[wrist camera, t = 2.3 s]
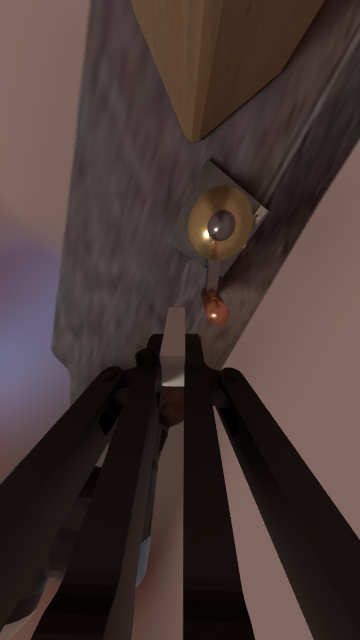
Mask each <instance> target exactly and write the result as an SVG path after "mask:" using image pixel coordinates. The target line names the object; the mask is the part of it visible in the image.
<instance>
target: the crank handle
mask: <svg viewBox="0 0 360 640" xmlns="http://www.w3.org/2000/svg"><path fill="white" fill-rule="evenodd" d="M252 223H253V214H252V208H251V205H250V203H249V201H248V199H247V197H246V196H245V195H244V194H243V193H242V192H241V191H240V190H238V189H237V188H235V187H232V186H226V185H224V186H217V187H214V188H211V189H209V190H208V191H206V192H205V193H204V194H202V195H201V196H200V197H199V199H198V200H197V201H196V203H195V204H194V206H193V208H192V210H191V213H190V216H189V219H188V226H187V229H188V237H189V240H190V243H191V245H192V246H193V248H194V249H195V250H196V252H197V253H198V254H200V255H201V256H202V257H204V258H206V259H208V266H207V277H206V287H205V288H204V289H203V290H202V292H201V298H202V301H203V304H204V308H205V311H206V315H207V318H208V321H209V322H210V323H211V324H212V325H216V326H219V325H223V324H225V323H226V322H227V321H228V319H229V317H230V312H229V310H228V308H227V307H226V305H225V303H224V302H223V300H222V298H221V297H220V295H219V293H218V292H217V287H218V279H219V272H220V264H221V260H224V259H227V258H229V257H231V256H233V255H234V254H236V253H237V252H238V251H239V250H240V249H241V248H242V247H243V246H244V244H245V243H246V241H247V239H248V237H249V235H250V232H251V229H252Z"/></svg>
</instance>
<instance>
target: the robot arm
mask: <svg viewBox="0 0 360 640" xmlns="http://www.w3.org/2000/svg"><path fill="white" fill-rule="evenodd" d="M135 358H136V363H137V366H136V367H135V368H132V369H128V370H124V371H123V370H122V369H121V368H120V367H117V366H113V367H109V368H107V369H105V370H104V371H102V372H101V373H100V374H99V375H98V377H97V378H96V379H95V380H94V381H93V382H92V383H91V384H90V385H89V387H88V388H87V389H86V390H85V391H84V392H83V393H82V394H81V396H80V397H79V398H78V399H77V400H76V401H75V402H74V403H73V404H72V406H71V407H70V408H69V409H68V410H67V411H66V412H65V413H64V415H63V416H62V417H61V418H60V419H59V420H58V421H57V422H56V424H55V425H54V426H53V427H52V428H51V429H50V430H49V431H48V432H47V433H46V435H45V436H44V437H43V438H42V439H41V440H40V441H39V443H38V444H37V445H36V446H35V447H34V448H33V449H32V450H31V451H30V453H29V454H28V455H27V456H26V457H24V458H23V459H22V460H21V461H20V462H19V463H18V464H17V465H16V466H15V467H14V468H13V469H12V470H11V472H10V473H9V474H8V475H7V476H6V477H5V478H4V479H3V480H2V482H1V483H0V640H9V639H10V638H11V637H12V636H13V635H14V634H15V633H16V632H17V631H18V630H19V629H20V628H21V627H22V626H23V625H24V624H25V623H26V622H27V621H28V620H29V619H30V618H31V616H32V615H33V614H34V612H35V610H36V608H37V605H38V603H39V601H40V598H41V596H42V594H43V591H44V589H45V586H46V585H47V583H48V581H62V582H61V585H60V587H59V589H58V591H57V593H56V594H55V596H54V598H53V599H52V601H51V602H50V604H49V605H48V607H47V609H46V610H45V611H44V613H43V615H42V617H41V619H40V621H39V623H38V625H37V628H36V629H35V632H34V633H33V636H32V638H31V640H131V635H132V627H133V617H134V601H135V587H137V586H138V585H139V584H140V582H141V581H142V579H143V577H144V575H145V571H146V567H147V560H148V554H149V548H150V541H151V538H152V533H151V531H152V521H153V511H154V501H155V491H156V481H157V471H158V462H159V459H160V456H161V453H162V451H163V448H164V445H165V442H166V439H167V437H168V430H169V423H168V421H167V419H166V418H165V417H164V416H163V415H162V414H160V413H159V409H160V402H161V395H162V392H161V386H184V502H183V503H184V504H183V507H184V509H183V640H255V637H254V633H253V628H252V624H251V621H250V617H249V614H248V611H247V607H246V604H245V600H244V596H243V591H242V585H241V580H240V574H239V567H238V561H237V555H236V548H235V542H234V537H233V530H232V523H231V517H230V511H229V505H228V499H227V493H226V486H225V480H224V474H223V467H222V461H221V454H220V448H219V442H218V436H217V429H216V424H215V417H214V411H213V405H214V406H216V409H217V412H218V414H219V416H220V419H221V421H222V423H223V426H224V428H225V431H226V433H227V435H228V438H229V440H230V442H231V445H232V447H233V450H234V452H235V454H236V456H237V459H238V461H239V464H240V466H241V468H242V471H243V473H244V475H245V478H246V480H247V482H248V485H249V487H250V490H251V492H252V495H253V497H254V499H255V502H256V504H257V506H258V509H259V511H260V513H261V516H262V518H263V521H264V523H265V525H266V528H267V530H268V532H269V535H270V537H271V539H272V542H273V544H274V546H275V549H276V551H277V554H278V556H279V558H280V561H281V563H282V565H283V567H284V570H285V572H286V575H287V577H288V580H289V582H290V584H291V587H292V589H293V591H294V594H295V596H296V599H297V601H298V603H299V605H300V608H301V610H302V613H303V615H304V617H305V620H306V622H307V624H308V627H309V629H310V632H311V634H312V636H313V639H314V640H360V539H359V538H358V537H357V535H356V534H355V532H354V531H353V530H352V528H351V527H350V525H349V524H348V523H347V521H346V520H345V518H344V517H343V515H342V514H341V513H340V511H339V510H338V508H337V507H336V506H335V504H334V503H333V502H332V500H331V499H330V497H329V496H328V494H327V493H326V492H325V490H324V489H323V487H322V486H321V484H320V483H319V482H318V480H317V479H316V477H315V476H314V475H313V473H312V472H311V470H310V469H309V468H308V466H307V465H306V463H305V462H304V460H303V459H302V458H301V456H300V455H299V453H298V452H297V451H296V449H295V448H294V446H293V445H292V444H291V442H290V441H289V439H288V438H287V436H286V435H285V434H284V432H283V431H282V429H281V428H280V427H279V425H278V424H277V422H276V421H275V420H274V418H273V417H272V415H271V414H270V412H269V411H268V410H267V409H266V407H265V405H264V404H263V403H262V401H261V400H260V398H259V397H258V396H257V394H256V393H255V391H254V390H253V389H252V387H251V386H250V384H249V383H248V381H247V380H246V379H245V377H244V376H243V374H241V372H240V371H238V370H236V369H234V368H224V369H222V370H221V371H217V370H214V369H211V368H209V367H208V366H207V365H206V364H205V362H204V358H203V351H202V345H201V338H200V337H199V335H198V334H185V308H169V311H168V316H167V321H166V326H165V331H164V334H153V335H152V336H151V337H150V338H149V341H148V344H147V347H146V348H145V349H142V350H140V351H138V352H137V353H136V355H135ZM107 444H108V451H107V454H106V457H105V460H104V463H103V465H102V467H99V466H95V465H96V463H97V461H98V460H99V458H100V456H101V454H102V453H103V451H104V449H105V447H106V445H107Z"/></svg>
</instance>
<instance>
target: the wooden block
mask: <svg viewBox="0 0 360 640" xmlns="http://www.w3.org/2000/svg"><path fill="white" fill-rule="evenodd" d="M131 1H132V5H133V10H134V13H135V15H136V18H137V20H138V23H139V25H140V28H141V30H142V32H143V35H144V37H145V40H146V42H147V45H148V47H149V50H150V52H151V54H152V57H153V59H154V62H155V64H156V67H157V69H158V71H159V74H160V76H161V79H162V81H163V84H164V86H165V89H166V91H167V93H168V96H169V98H170V101H171V103H172V106H173V108H174V110H175V113H176V115H177V118H178V120H179V123H180V125H181V128H182V130H183V132H184V135H185V137H186V138H187V139H188V140H189V141H190V142H191V143H194V142H198V141H200V140H201V139H202V138H203V137H204V136H206V135H207V134H208V133H209V132H210V131H212V130H213V129H214V128H215V127H216V126H218V125H219V124H220V123H221V122H222V121H223V120H225V119H226V118H227V117H228V116H229V115H231V114H232V113H233V112H234V111H235V110H237V109H238V108H239V107H240V106H241V105H242V104H244V103H245V102H246V101H247V100H248V99H250V98H251V97H252V96H253V95H254V94H256V93H257V92H258V91H259V90H260V89H261V88H263V87H264V86H265V85H266V84H267V83H269V82H270V81H271V80H272V79H273V78H275V77H276V76H277V75H278V74H279V73H280V72H281V71H282V69H283V68H284V66H285V65H286V63H287V61H288V60H289V58H290V56H291V55H292V53H293V52H294V50H295V48H296V47H297V45H298V43H299V42H300V40H301V38H302V37H303V35H304V33H305V32H306V30H307V29H308V27H309V25H310V24H311V22H312V20H313V19H314V17H315V15H316V14H317V12H318V10H319V9H320V7H321V6H322V4H323V2H324V1H325V0H131Z"/></svg>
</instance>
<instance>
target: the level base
mask: <svg viewBox="0 0 360 640" xmlns="http://www.w3.org/2000/svg"><path fill="white" fill-rule="evenodd" d="M224 185H226V186H232V187H235V188H237V189H238V190H240V191H241V192H242V193H243V194H244V195H245V196H246V197H247V199H248V201H249V203H250V205H251V208H252V214H253V223H252V229H251V232H250V235H249V237H248V239H247V241H246V243H245V244H244V246H243V247H242V248H241V249H240V250H239V251H238V252H237V253H236V254H234V255H233V256H231V257H229V258H227V259H224V260H221V264H220V272H219V276H220V277H221V278H222V277H223V276H224V275H225V273H226V272H227V270H228V269H229V268H230V266H231V265H232V264H233V262H234V261H235V259H236V258H237V257H238V255H239V254H240V252H241V251H242V250H243V249H244V248H245V246H246V244H247V243H248V241H249V240H250V239H251V237H252V236H253V235H254V233H255V232H256V230H257V229H258V228H259V226H260V225H261V223H262V222H263V221H264V219H265V218H266V217H267V215H268V214H269V211H268V210H267V209H266V208H265V207H263V206H262V205H261V204H260V203H259V202H258V201H256V200H255V199H254V198H253V197H252V196H251V195H249V194H248V193H247V192H246V191H245V190H244V189H242V188H241V187H240V186H239V185H238V184H236V183H235V182H234V181H233V180H232V179H231V178H229V177H228V176H227V175H226V174H225V173H224V172H222V171H221V170H220V169H219V168H218V167H217V166H215V165H214V164H213V163H212V162H211V161H209V160H208V159H207V160H206V162H205V164H204V166H203V168H202V170H201V172H200V174H199V176H198V178H197V180H196V182H195V184H194V186H193V189H192V191H191V193H190V195H189V197H188V199H187V201H186V203H185V205H184V207H183V209H182V211H181V213H180V215H179V217H178V219H177V221H176V223H175V225H174V227H173V229H172V231H171V233H170V235H169V237H168V239H167V241H166V242H168V243H169V244H171V245H172V246H174V247H175V248H177V249H178V250H180V251H181V252H183V253H185V254H186V255H188V256H189V257H191V258H192V259H194V260H195V261H197V262H198V263H200V264H201V265H203V266H205V267H206V268H207V266H208V259H206V258H204V257H202V256H201V255H200V254H198V253H197V252H196V250H195V249H194V248H193V246H192V245H191V243H190V240H189V237H188V229H187V226H188V219H189V216H190V213H191V210H192V208H193V206H194V204H195V203H196V201H197V200H198V199H199V197H200V196H201V195H202V194H204V193H205V192H206V191H208V190H209V189H211V188H214V187H217V186H224Z"/></svg>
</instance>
